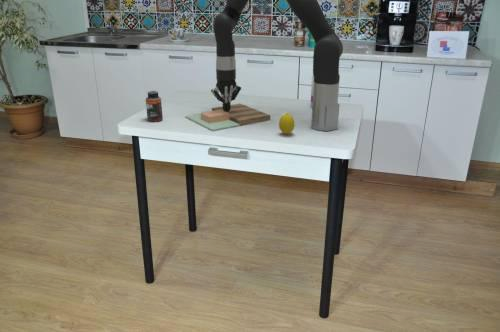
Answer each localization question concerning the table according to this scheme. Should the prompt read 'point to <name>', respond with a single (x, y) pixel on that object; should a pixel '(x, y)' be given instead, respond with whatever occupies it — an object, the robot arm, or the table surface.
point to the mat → (212, 126)
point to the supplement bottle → (154, 107)
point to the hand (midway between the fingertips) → (226, 111)
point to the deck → (245, 114)
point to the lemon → (286, 123)
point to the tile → (215, 116)
